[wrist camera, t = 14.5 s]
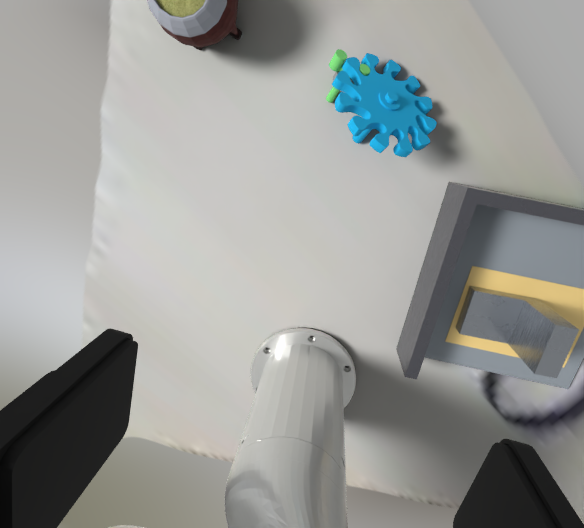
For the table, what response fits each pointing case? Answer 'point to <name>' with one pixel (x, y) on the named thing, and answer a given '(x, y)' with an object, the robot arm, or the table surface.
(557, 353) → the bracket
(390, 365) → the table surface
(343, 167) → the table surface
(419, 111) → the blue toy cog wheel
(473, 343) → the tray
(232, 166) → the table surface
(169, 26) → the mate gourd
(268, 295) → the table surface
